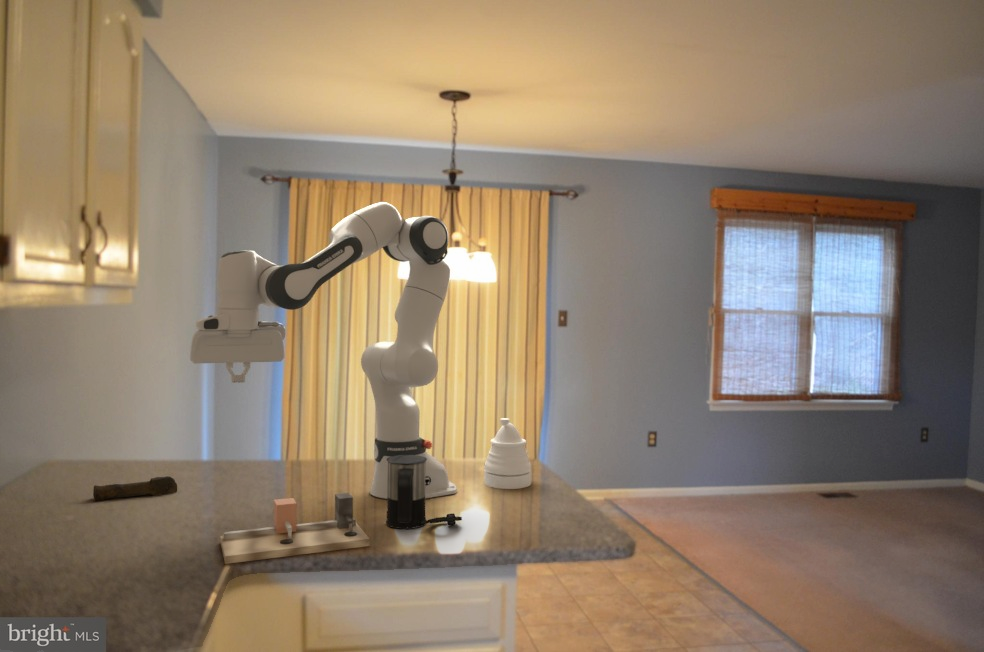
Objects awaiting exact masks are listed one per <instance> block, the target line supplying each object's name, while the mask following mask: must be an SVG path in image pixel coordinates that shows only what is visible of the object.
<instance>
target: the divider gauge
mask: <svg viewBox="0 0 984 652" xmlns="http://www.w3.org/2000/svg"><path fill="white" fill-rule="evenodd" d="M353 507H354V497H353V496H352V495H351V493H350V492H343V493H335V494H334V520H333V519H331V520H325V521H315V522H314V521H313V522H308V523H307V522H306V523H305V522H304V523H298V524H297V527H296V531H294V532H292V538H291V539H288V532H285V533H276V527H274V526H270V527H261V528H251V529H244V530H240V529H239V530H231V531H224V532H223V534H222V535H220V539H219V541H220V543H219V544H220V547H221V550H222V551H221V553H222V557H223V560H224V564H225V565H228V564H229V565H230V564H235V563H243V562H251V561H258V560H259V561H260V560H267V559H275V558H283V557H291V556H292V557H293V556H301V555H307V554H315V553H324V552H332V551H338V550H339V551H340V550H347V549H348V550H349V549H357V548H363V547H370V537H369V536H368V535H367V534H366V532H365V531H364V530H363V529H362V528H361V526H360V525H359V524H358V523H357V520H356V518H355V517H354V515H353V514H354V512H353V511H354V508H353Z"/></svg>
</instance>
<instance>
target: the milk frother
mask: <svg viewBox="0 0 984 652" xmlns="http://www.w3.org/2000/svg"><path fill="white" fill-rule="evenodd" d="M386 460H387V461H388V481H387V499H386V501H387V502H386V504H387V508H386V519H385V520H386V521H385V524H386V526H387V527H391V528H394V529H417V528H420V527H421V528H422V527H424V526H425V525H427V524H436V523H446V524H447V526H449V527H450V526H455V525H456V524H457V523H456V521H457V522H459V521H462V520H463V519H462V516H456V514H455V513H447V514H446V516H441V517H434V518H429V519H426V518H427V516H426V498H425V470H426V460H427V458H426V457H423V456H418V455H397V456H391V457H388V458H387V459H386Z"/></svg>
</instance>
